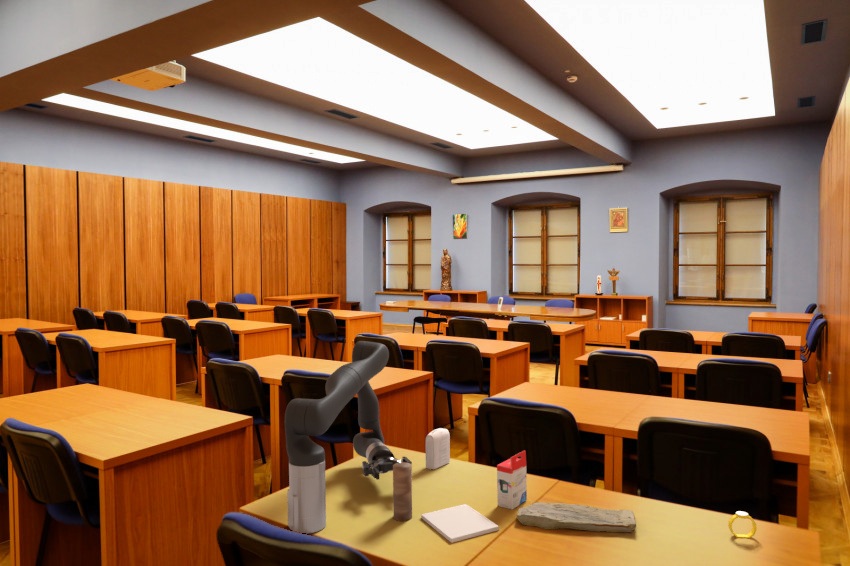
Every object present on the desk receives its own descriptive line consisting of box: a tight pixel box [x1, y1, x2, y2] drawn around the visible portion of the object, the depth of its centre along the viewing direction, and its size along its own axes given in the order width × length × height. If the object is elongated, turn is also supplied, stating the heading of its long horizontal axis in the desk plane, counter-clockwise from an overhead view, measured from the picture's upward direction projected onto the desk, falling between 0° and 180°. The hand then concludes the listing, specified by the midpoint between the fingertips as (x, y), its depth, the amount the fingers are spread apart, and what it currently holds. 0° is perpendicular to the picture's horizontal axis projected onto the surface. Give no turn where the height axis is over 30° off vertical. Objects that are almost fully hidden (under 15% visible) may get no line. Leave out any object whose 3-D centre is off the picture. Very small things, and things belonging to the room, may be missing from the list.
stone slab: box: [516, 501, 637, 533], centre depth 150 cm, size 12×4×30 cm
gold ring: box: [727, 510, 757, 539], centre depth 140 cm, size 6×3×6 cm, turn 82°
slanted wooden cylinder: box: [392, 462, 413, 522], centre depth 154 cm, size 5×5×14 cm
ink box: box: [496, 450, 528, 510], centre depth 162 cm, size 8×5×15 cm, turn 141°
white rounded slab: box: [425, 427, 451, 470], centre depth 194 cm, size 10×4×12 cm, turn 143°
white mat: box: [420, 503, 500, 544], centre depth 149 cm, size 14×16×1 cm
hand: (392, 474), depth 164 cm, fingers open, 8 cm apart
